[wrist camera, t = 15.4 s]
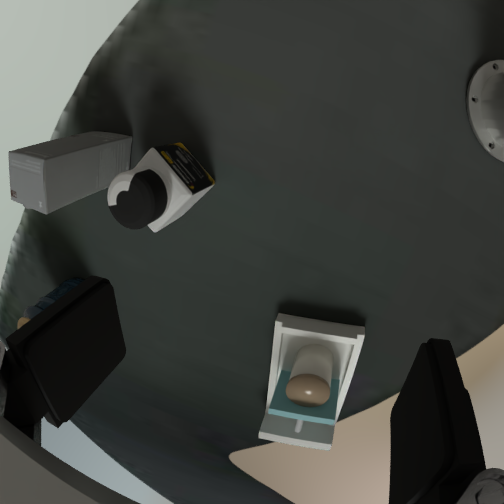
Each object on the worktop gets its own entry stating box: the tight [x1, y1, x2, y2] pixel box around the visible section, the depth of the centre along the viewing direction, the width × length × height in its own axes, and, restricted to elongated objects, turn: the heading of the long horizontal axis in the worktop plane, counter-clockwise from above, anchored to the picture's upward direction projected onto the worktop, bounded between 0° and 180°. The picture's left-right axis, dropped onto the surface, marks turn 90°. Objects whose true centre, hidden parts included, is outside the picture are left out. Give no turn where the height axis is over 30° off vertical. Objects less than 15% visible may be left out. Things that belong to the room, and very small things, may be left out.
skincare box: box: [9, 131, 132, 214], centre depth 35 cm, size 8×7×16 cm
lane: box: [259, 313, 365, 451], centre depth 45 cm, size 12×22×6 cm, turn 177°
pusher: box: [268, 370, 340, 432], centre depth 44 cm, size 9×9×8 cm
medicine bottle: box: [108, 143, 215, 232], centre depth 35 cm, size 7×7×12 cm
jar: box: [286, 344, 334, 407], centre depth 42 cm, size 6×6×7 cm
